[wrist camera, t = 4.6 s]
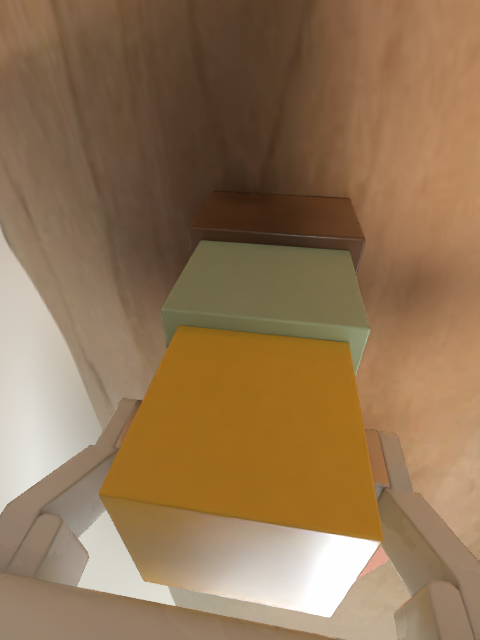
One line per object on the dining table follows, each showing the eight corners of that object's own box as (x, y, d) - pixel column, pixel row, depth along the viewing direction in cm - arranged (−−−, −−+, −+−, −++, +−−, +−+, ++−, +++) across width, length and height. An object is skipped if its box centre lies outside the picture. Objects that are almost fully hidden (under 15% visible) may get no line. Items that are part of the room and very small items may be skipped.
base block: (217, 301, 21) (198, 354, 18) (213, 190, 17) (187, 226, 13) (327, 311, 21) (333, 368, 17) (350, 198, 16) (366, 238, 13)
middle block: (207, 348, 17) (179, 430, 13) (200, 239, 14) (158, 308, 10) (324, 360, 17) (332, 451, 13) (350, 250, 13) (372, 329, 9)
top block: (191, 425, 13) (143, 581, 9) (178, 324, 10) (96, 493, 6) (321, 443, 12) (330, 618, 8) (349, 341, 9) (385, 541, 5)
